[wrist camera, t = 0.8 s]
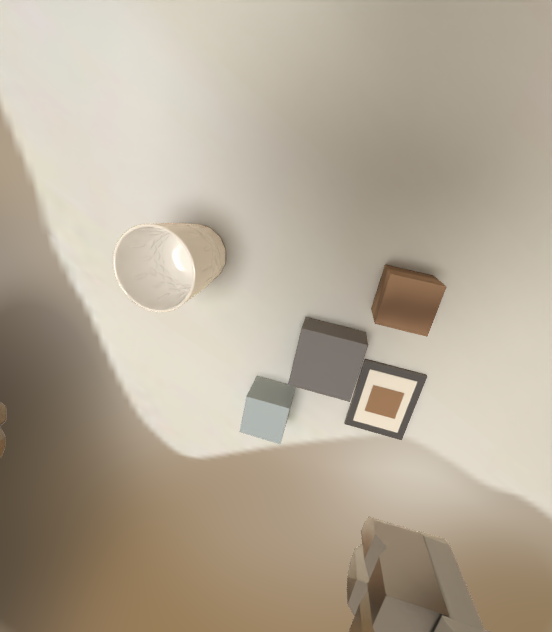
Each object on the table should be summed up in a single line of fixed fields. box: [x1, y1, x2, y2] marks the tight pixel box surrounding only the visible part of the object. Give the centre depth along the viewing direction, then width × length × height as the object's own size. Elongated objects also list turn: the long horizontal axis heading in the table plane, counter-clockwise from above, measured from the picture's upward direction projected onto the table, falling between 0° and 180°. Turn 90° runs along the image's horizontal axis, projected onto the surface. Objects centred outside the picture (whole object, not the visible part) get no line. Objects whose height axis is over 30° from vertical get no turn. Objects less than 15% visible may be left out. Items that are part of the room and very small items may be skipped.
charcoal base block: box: [288, 317, 368, 402], centre depth 39 cm, size 7×7×4 cm
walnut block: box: [371, 265, 446, 336], centre depth 34 cm, size 5×5×5 cm
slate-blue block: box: [240, 376, 295, 444], centre depth 41 cm, size 5×5×5 cm
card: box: [345, 359, 427, 440], centre depth 40 cm, size 9×7×1 cm
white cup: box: [113, 223, 225, 312], centre depth 35 cm, size 8×8×10 cm
